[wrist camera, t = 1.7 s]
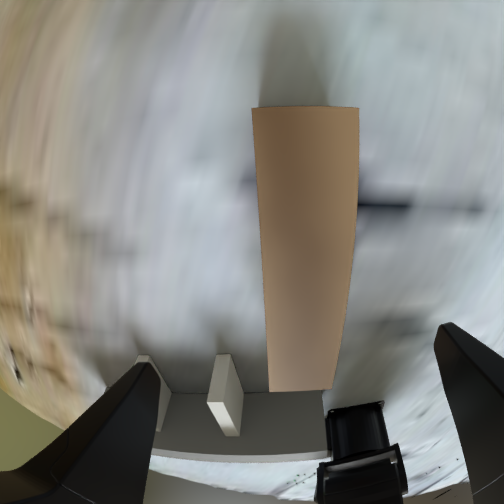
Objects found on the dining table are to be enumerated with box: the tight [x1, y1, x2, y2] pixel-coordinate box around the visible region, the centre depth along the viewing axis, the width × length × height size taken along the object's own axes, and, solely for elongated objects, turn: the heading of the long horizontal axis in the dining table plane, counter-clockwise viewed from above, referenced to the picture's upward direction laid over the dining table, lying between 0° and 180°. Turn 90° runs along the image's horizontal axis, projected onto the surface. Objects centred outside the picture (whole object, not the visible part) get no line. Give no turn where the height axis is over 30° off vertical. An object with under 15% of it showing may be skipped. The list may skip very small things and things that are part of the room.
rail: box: [252, 106, 359, 392], centre depth 16 cm, size 4×16×6 cm, turn 4°
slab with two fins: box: [104, 354, 327, 463], centre depth 23 cm, size 24×8×7 cm, turn 100°
